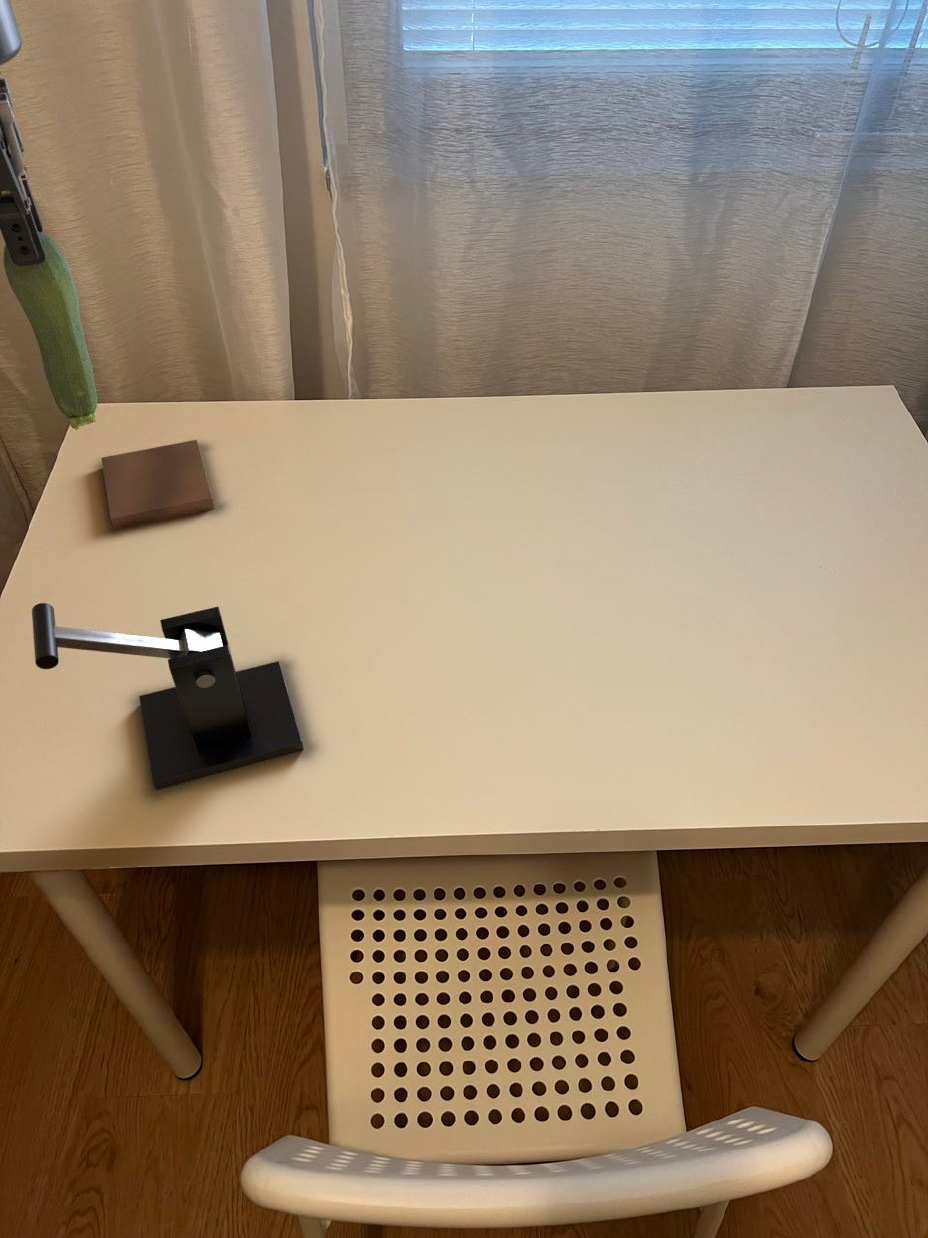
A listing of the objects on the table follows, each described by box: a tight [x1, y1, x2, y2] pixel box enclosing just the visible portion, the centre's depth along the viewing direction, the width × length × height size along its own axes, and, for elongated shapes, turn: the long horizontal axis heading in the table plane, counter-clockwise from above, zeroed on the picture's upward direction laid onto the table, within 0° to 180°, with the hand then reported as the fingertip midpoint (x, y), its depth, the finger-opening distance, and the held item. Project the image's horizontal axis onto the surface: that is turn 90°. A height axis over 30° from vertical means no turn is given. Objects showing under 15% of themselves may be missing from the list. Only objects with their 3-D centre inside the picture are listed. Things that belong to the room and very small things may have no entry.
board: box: [101, 439, 216, 530], centre depth 98 cm, size 10×10×2 cm
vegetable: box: [1, 191, 98, 431], centre depth 71 cm, size 4×4×20 cm
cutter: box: [138, 606, 305, 791], centre depth 74 cm, size 12×9×12 cm
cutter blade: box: [31, 602, 223, 670], centre depth 68 cm, size 13×5×2 cm
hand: (29, 246), depth 67 cm, fingers closed on vegetable, 3 cm apart
